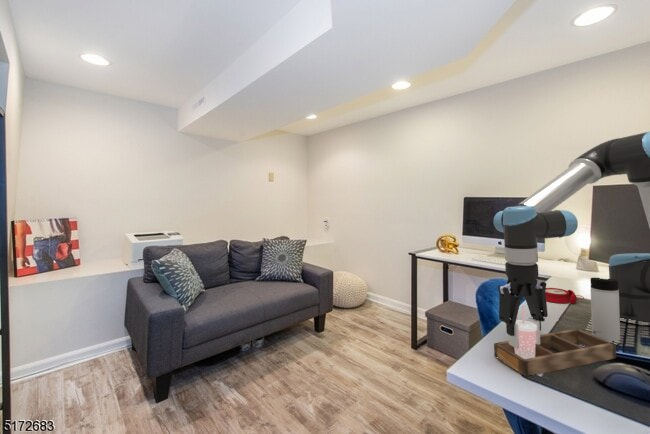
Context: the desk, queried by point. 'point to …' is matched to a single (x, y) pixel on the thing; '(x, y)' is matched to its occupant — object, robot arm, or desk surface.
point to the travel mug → (605, 309)
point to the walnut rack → (564, 359)
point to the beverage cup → (526, 338)
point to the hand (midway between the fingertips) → (524, 344)
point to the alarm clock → (560, 296)
